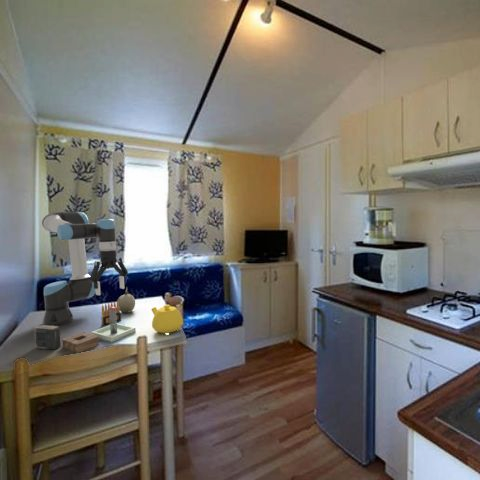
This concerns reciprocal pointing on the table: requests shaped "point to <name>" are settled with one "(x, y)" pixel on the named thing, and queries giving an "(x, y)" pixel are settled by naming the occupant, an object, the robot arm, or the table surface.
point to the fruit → (126, 302)
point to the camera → (47, 337)
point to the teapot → (166, 319)
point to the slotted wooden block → (80, 342)
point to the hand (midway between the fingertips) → (110, 291)
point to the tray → (121, 333)
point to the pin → (113, 320)
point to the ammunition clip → (106, 314)
